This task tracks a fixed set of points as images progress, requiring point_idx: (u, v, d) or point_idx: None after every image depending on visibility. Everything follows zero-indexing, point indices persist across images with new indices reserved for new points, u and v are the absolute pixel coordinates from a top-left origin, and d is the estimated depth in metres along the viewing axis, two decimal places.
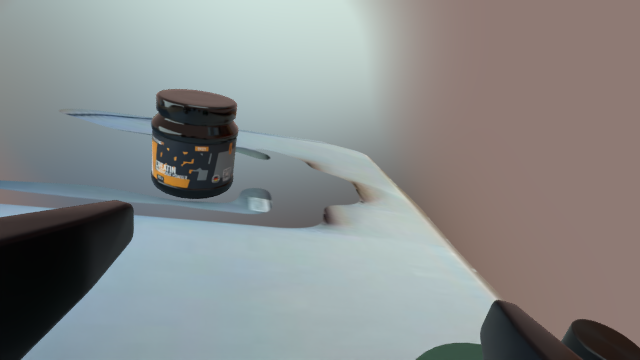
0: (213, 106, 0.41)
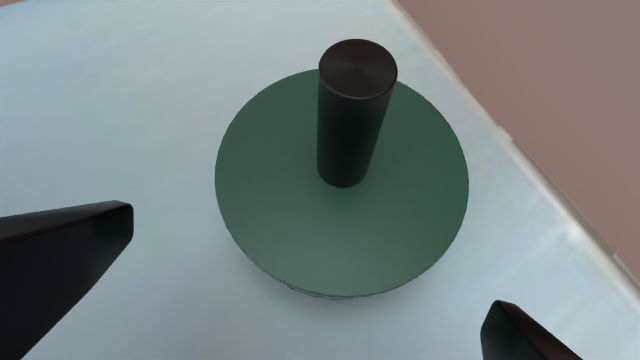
0: None
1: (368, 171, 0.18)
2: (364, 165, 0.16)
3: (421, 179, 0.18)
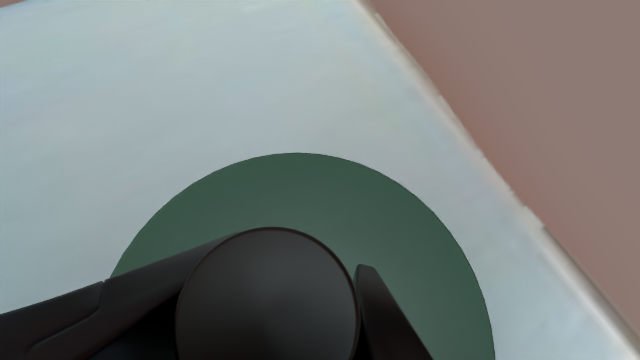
0: None
1: None
2: None
3: None
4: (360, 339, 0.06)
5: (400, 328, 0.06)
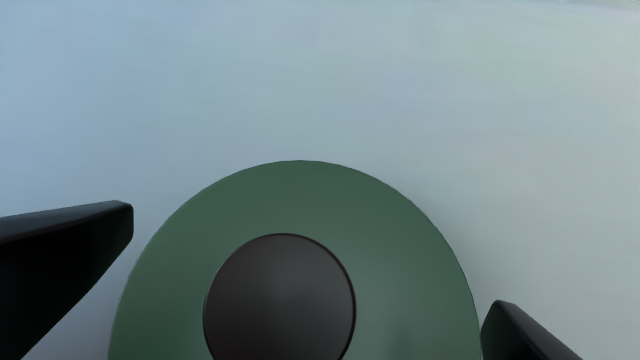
0: None
1: None
2: None
3: (413, 346, 0.12)
4: None
5: None
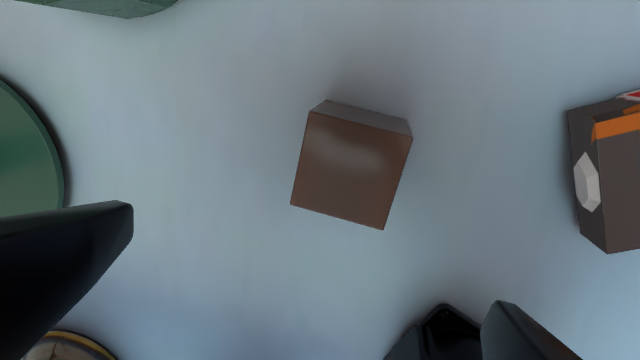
0: None
1: None
2: None
3: None
4: None
5: None
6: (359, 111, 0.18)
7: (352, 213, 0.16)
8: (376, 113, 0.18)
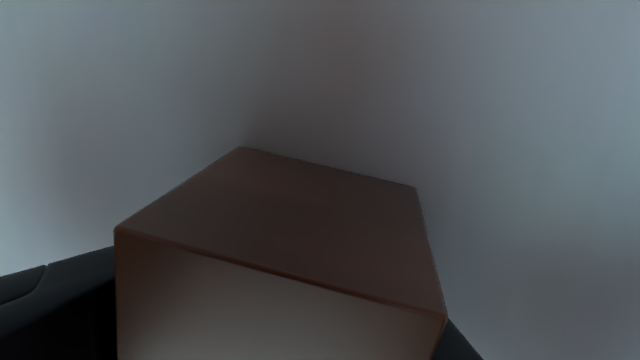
0: None
1: None
2: None
3: None
4: None
5: (457, 344, 0.06)
6: (304, 179, 0.07)
7: None
8: (347, 177, 0.08)
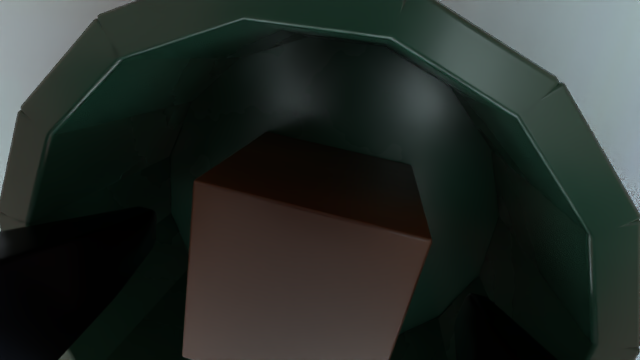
0: None
1: None
2: None
3: None
4: None
5: None
6: (322, 156, 0.09)
7: None
8: (355, 156, 0.10)
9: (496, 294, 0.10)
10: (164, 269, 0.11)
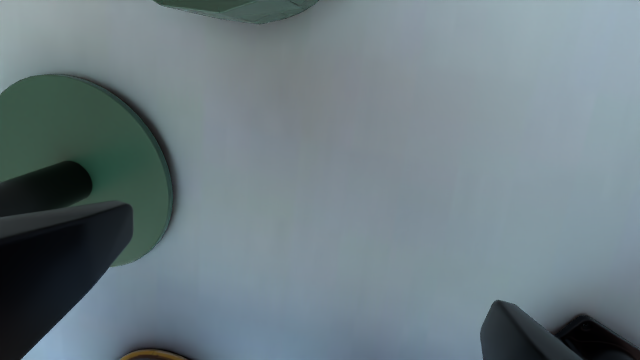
0: None
1: (76, 160, 0.22)
2: (60, 179, 0.20)
3: (74, 118, 0.21)
4: None
5: None
6: None
7: None
8: None
9: None
10: None
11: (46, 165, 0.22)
